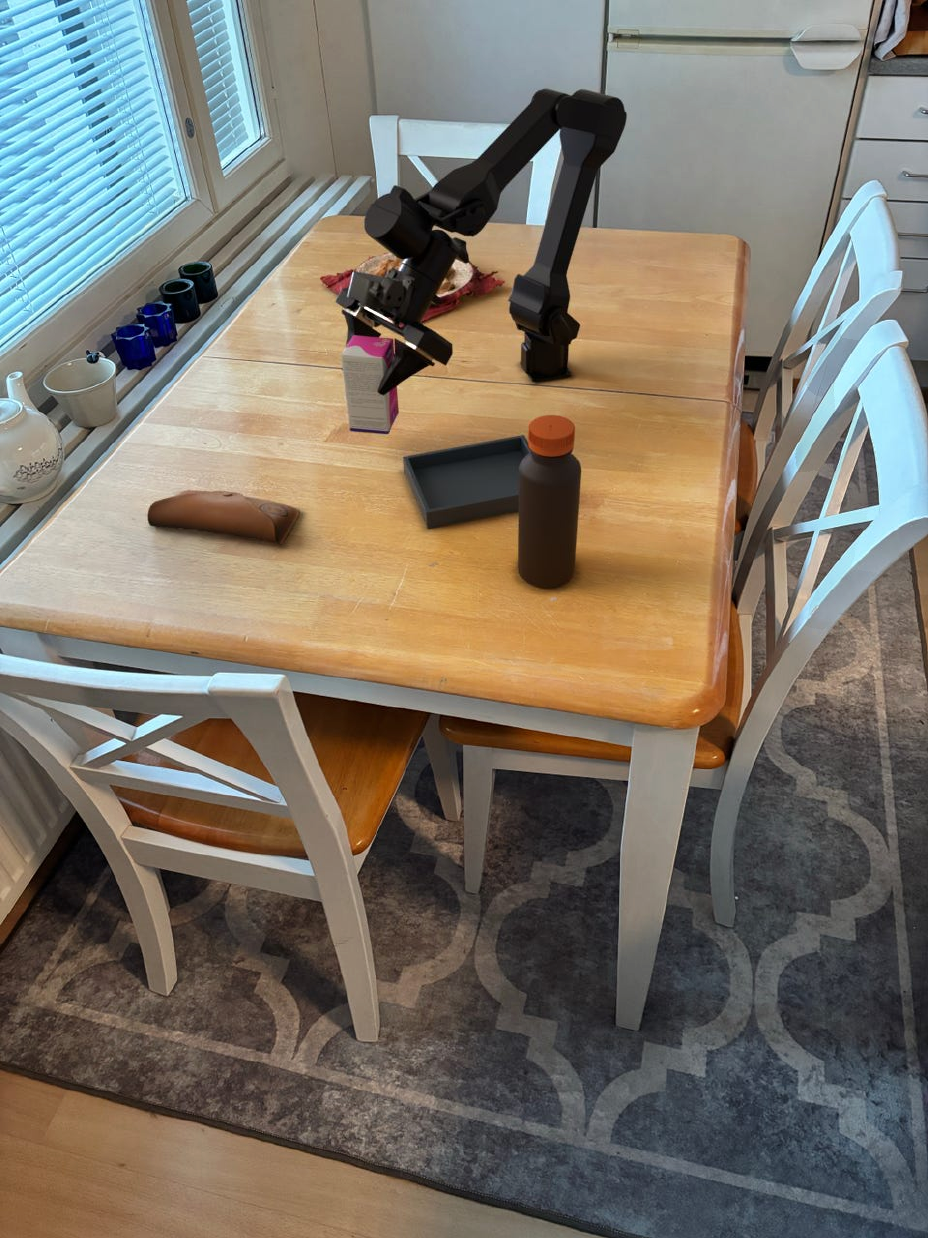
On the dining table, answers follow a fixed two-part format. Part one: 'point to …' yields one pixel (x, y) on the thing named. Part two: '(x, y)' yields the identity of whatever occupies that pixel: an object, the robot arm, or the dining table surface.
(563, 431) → the bottle
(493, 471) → the serving tray
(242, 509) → the sunglasses case
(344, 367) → the supplement box
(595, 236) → the dining table surface
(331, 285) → the plate with food
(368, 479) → the dining table surface
